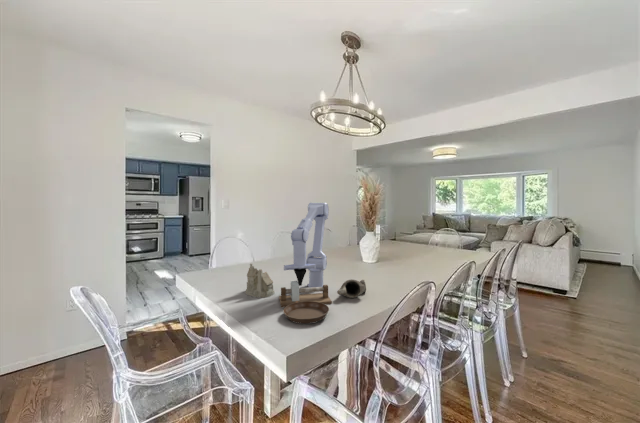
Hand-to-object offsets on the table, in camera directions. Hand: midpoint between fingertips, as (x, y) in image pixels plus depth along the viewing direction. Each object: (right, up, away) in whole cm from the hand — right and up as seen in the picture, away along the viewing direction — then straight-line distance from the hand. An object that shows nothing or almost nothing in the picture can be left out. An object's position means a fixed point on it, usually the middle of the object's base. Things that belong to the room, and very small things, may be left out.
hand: (299, 285), depth 129 cm
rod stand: (+2, -7, -2) cm, 7 cm away
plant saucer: (+4, -8, -19) cm, 21 cm away
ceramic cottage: (-19, -7, +11) cm, 23 cm away
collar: (-2, -5, -3) cm, 6 cm away
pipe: (+25, -7, +5) cm, 26 cm away
